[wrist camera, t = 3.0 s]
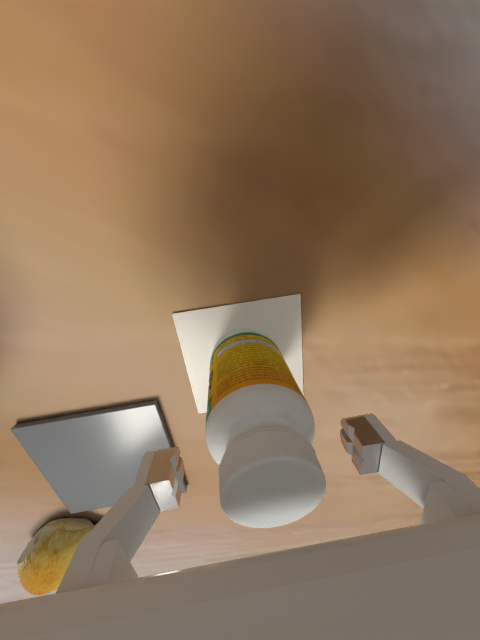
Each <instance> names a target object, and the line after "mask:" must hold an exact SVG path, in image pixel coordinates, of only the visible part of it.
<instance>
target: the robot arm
mask: <svg viewBox="0 0 480 640" xmlns="http://www.w3.org/2000/svg"><path fill="white" fill-rule="evenodd" d="M341 426H342V427H343V429H342V430H341V431H340V437H341V442H342V444H343V447H344V448H345V450H346V452H347V453H349V454H350V455H352V462H353V464H354V465H355V467H356V469H357V470H358V472H359V474H360V475H362V474H368V473H375V472H378V473H379V474H380V475H381V476H383V477H384V478H385V479H386V480H388V481H389V482H390V483H392V484H393V485H394V486H395V487H397V488H398V489H399V490H401V491H402V492H403V493H404V494H406V495H407V496H408V497H409V498H411V499H412V500H413V501H415V502H416V503H417V504H418V505H420V506H421V507H422V508H423V512H422V516H421V519H420V525H415V526H409V527H404V528H399V529H394V530H388V531H383V532H378V533H372V534H367V535H362V536H356V537H351V538H346V539H341V540H335V541H330V542H325V543H319V544H314V545H309V546H303V547H298V548H293V549H288V550H282V551H277V552H272V553H267V554H261V555H256V556H251V557H246V558H240V559H235V560H230V561H225V562H219V563H214V564H209V565H203V566H198V567H193V568H188V569H182V570H177V571H172V572H167V573H161V574H156V575H151V576H146V577H140V578H138V575H137V573H136V571H135V570H134V568H133V566H132V565H131V563H130V561H131V559H132V557H133V556H134V554H135V553H136V551H137V549H138V548H139V546H140V544H141V543H142V541H143V540H144V538H145V536H146V535H147V533H148V531H149V530H150V528H151V526H152V525H153V523H154V522H155V520H156V518H157V517H158V515H159V513H160V511H163V510H168V509H173V508H178V507H179V503H180V497H181V488H180V484H181V483H182V481H183V477H184V464H183V460H182V458H181V457H179V455H180V450H179V448H178V447H173V448H166V449H159V450H153V451H146V453H145V454H144V456H143V459H142V461H141V464H140V467H139V470H138V473H137V476H136V479H135V482H134V484H133V487H131V488H129V489H128V490H127V491H126V492H125V493H124V494H123V495H122V497H121V498H120V499H119V500H118V501H117V502H116V503H115V504H114V506H113V507H112V508H111V509H110V510H109V511H108V512H107V513H106V514H105V516H104V517H103V518H102V519H101V520H100V521H99V522H98V523H97V525H96V526H95V527H94V528H93V529H92V530H91V531H90V532H89V533H88V535H87V536H86V537H85V538H84V539H83V540H82V541H81V542H80V544H79V545H78V546H77V548H76V551H75V553H74V555H73V557H72V559H71V561H70V564H69V566H68V568H67V570H66V572H65V574H64V577H63V579H62V581H61V583H60V585H59V587H58V590H57V592H56V594H51V595H46V596H40V597H35V598H30V599H24V600H19V601H14V602H8V603H3V604H0V640H480V489H479V488H478V487H477V486H476V485H475V484H474V483H473V482H472V481H471V480H470V479H469V478H468V477H467V476H466V475H465V474H463V473H461V472H459V471H457V470H455V469H453V468H451V467H449V466H448V465H446V464H444V463H442V462H440V461H438V460H436V459H434V458H432V457H431V456H429V455H427V454H425V453H423V452H421V451H419V450H417V449H415V448H413V447H412V446H410V445H408V444H406V443H404V442H402V441H397V440H396V439H395V438H394V437H393V436H392V435H391V433H390V432H389V431H388V430H387V429H386V428H385V427H384V425H383V424H382V423H381V422H380V421H379V420H378V419H377V418H376V416H375V415H374V414H372V413H371V414H366V415H359V416H354V417H348V418H343V419H342V420H341Z"/></svg>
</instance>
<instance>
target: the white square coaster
mask: <svg viewBox="0 0 480 640" xmlns="http://www.w3.org/2000/svg"><path fill="white" fill-rule="evenodd" d="M172 315H173V319H174V323H175V327H176V330H177V334H178V338H179V342H180V345H181V349H182V353H183V357H184V360H185V364H186V368H187V372H188V375H189V379H190V383H191V387H192V391H193V394H194V398H195V402H196V406H197V409H198V413H205V412H207V402H208V387H209V372H210V359H211V355H212V353H213V350H214V348H215V347H216V346H217V344H218V343H219V342H220V341H221V340H222V339H223V338H224V337H225V336H227V335H229V334H231V333H234V332H237V331H242V330H252V331H257V332H260V333H262V334H264V335H266V336H268V337H269V338H270V339H272V340H273V341H274V342H275V344H276V345H277V347H278V348H279V350H280V352H281V354H282V356H283V358H284V360H285V362H286V364H287V366H288V367H289V369H290V371H291V373H292V375H293V377H294V379H295V381H296V383H297V385H298V386H299V388H300V390H301V392H302V394H303V363H302V328H301V294H295V295H289V296H282V297H276V298H269V299H263V300H257V301H250V302H244V303H237V304H231V305H224V306H218V307H211V308H205V309H199V310H192V311H186V312H179V313H173V314H172Z"/></svg>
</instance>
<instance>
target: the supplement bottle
mask: <svg viewBox="0 0 480 640" xmlns="http://www.w3.org/2000/svg"><path fill="white" fill-rule="evenodd" d="M314 433H315V423H314V418H313V414H312V412H311V409H310V407H309V405H308V403H307V401H306V399H305V398H304V396H303V394H302V392H301V390H300V388H299V386H298V385H297V383H296V381H295V379H294V377H293V375H292V373H291V371H290V369H289V367H288V366H287V364H286V362H285V360H284V358H283V356H282V354H281V352H280V350H279V348H278V347H277V345H276V344H275V342H274V341H273V340H272V339H270V338H269V337H268V336H266V335H264V334H262V333H260V332H257V331H252V330H242V331H237V332H234V333H231V334H229V335H227V336H225V337H224V338H223V339H222V340H221V341H220V342H219V343H218V344H217V346H216V347H215V348H214V350H213V353H212V355H211V359H210V372H209V387H208V402H207V416H206V442H207V446H208V449H209V451H210V453H211V455H212V457H213V459H214V460H215V461H216V462H217V463H218V464H219V489H220V503H221V507H222V509H223V511H224V513H225V514H226V515H227V517H228V518H230V519H231V520H232V521H234V522H236V523H238V524H241V525H244V526H247V527H252V528H270V527H277V526H281V525H286V524H289V523H291V522H294V521H296V520H298V519H300V518H302V517H303V516H305V515H306V514H308V513H309V512H311V511H312V510H313V509H314V508H315V507H316V506H317V505H318V504H319V502H320V501H321V500H322V498H323V495H324V493H325V488H326V481H325V476H324V474H323V471H322V469H321V466H320V464H319V462H318V459H317V457H316V453H315V450H314V449H313V447H312V442H313V439H314Z"/></svg>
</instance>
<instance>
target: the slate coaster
mask: <svg viewBox="0 0 480 640" xmlns="http://www.w3.org/2000/svg"><path fill="white" fill-rule="evenodd" d="M11 431H12V432H13V433H14V435H15V436H16V438H17V439H18V440H19V442H20V443H21V445H22V446H23V447H24V449H25V450H26V452H27V453H28V454H29V456H30V457H31V459H32V460H33V461H34V463H35V464H36V466H37V467H38V468H39V470H40V471H41V473H42V474H43V475H44V477H45V478H46V480H47V481H48V482H49V484H50V485H51V487H52V488H53V489H54V491H55V492H56V494H57V495H58V496H59V498H60V499H61V501H62V502H63V503H64V505H65V506H66V508H67V509H68V510H69V512H70V513H71V514H73V513H78V512H84V511H89V510H94V509H100V508H105V507H110V506H114V504H115V503H116V502H117V501H118V500H119V499H120V498H121V497H122V495H123V494H124V493H125V492H126V491H127V490H128V489H129V488H131V487H133V484H134V482H135V479H136V476H137V473H138V470H139V467H140V464H141V461H142V459H143V456H144V454H145V453H146V451H153V450H159V449H166V448H173V446H172V443H171V440H170V437H169V434H168V431H167V429H166V426H165V423H164V420H163V417H162V414H161V411H160V409H159V406H158V403H157V400H155V401H149V402H143V403H137V404H131V405H126V406H120V407H114V408H108V409H102V410H96V411H90V412H84V413H79V414H73V415H67V416H61V417H55V418H49V419H43V420H37V421H31V422H26V423H20V424H16V425H15V426H14V427H13V428H11ZM180 488H181V493H185V492H186V490H187V486H186V483H185V480H184V477H183V481H182V483H181V484H180Z"/></svg>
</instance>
